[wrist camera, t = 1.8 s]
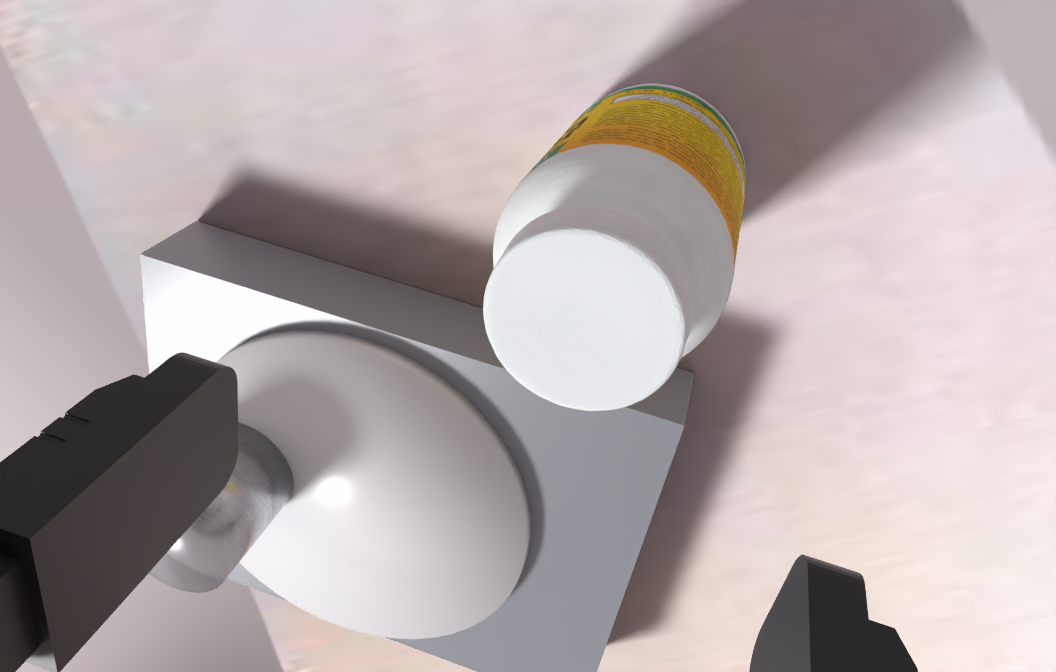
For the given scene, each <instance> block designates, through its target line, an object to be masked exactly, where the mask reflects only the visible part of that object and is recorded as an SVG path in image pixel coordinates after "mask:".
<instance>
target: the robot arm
mask: <svg viewBox="0 0 1056 672" xmlns="http://www.w3.org/2000/svg"><path fill="white" fill-rule="evenodd" d="M237 457H238V382H237V375H236V372H235V370H234V369H233V368H231V367H228V366H225V365H222V364H219V363H216V362H213V361H210V360H207V359H204V358H201V357H198V356H194V355H191V354H188V353H185V352H180V353H176V354H174V355H173V356H171V357H170V358H169V359H167V360H166V361H165V362H164V363H162V364H161V365H160V366H159V367H157V368H156V369H155V370H154V371H152V372H151V373H150V374H149V375H148V376H146V377H145V378H143V377H140V376H137V375H131V376H129V377H127V378H124V379H121V380H119V381H117V382H114V383H111V384H109V385H106V386H104V387H101V388H99V389H96V390H94V391H93V392H92V393H90V394H89V395H88V396H87V397H85V398H84V399H83V400H81V401H80V402H79V403H77V404H76V405H75V406H73V407H72V408H71V409H69V410H68V411H67V412H66V414H65V416H64V418H61V417H59V418H58V419H57V420H55V421H54V422H53V423H51V424H50V425H49V426H48V427H46V428H45V429H43V430H42V431H41V434H40V436H39V437H36V436H34V437H33V438H32V439H30V440H29V441H28V442H26V443H25V444H24V445H22V446H21V447H20V448H18V449H17V450H16V451H15V452H13V453H12V454H11V455H9V456H8V457H7V458H6V459H4V460H3V461H2V462H0V672H15V671H16V670H17V669H18V668H19V667H20V666H21V665H22V664H23V663H24V662H25V661H26V662H28V663H31V664H33V665H36V666H39V667H41V668H44V669H46V670H49V671H51V672H60V671H61V670H62V669H63V668H64V667H65V665H66V664H67V663H68V662H69V661H70V660H71V659H72V657H74V655H75V654H76V653H77V652H78V651H79V650H80V649H81V648H82V647H83V645H84V644H85V643H86V642H87V641H88V640H89V639H90V638H91V637H92V635H93V634H94V633H95V632H96V631H97V630H98V629H99V628H100V627H101V625H102V624H103V623H104V622H105V621H106V620H107V619H108V618H109V616H110V615H111V614H112V613H113V612H114V611H115V610H116V609H117V608H118V606H119V605H120V604H121V603H122V602H123V601H124V600H125V599H126V598H127V596H128V595H129V594H130V593H131V592H132V591H133V590H134V589H135V588H136V586H137V585H138V584H139V583H140V582H141V581H142V580H143V579H144V578H145V576H146V575H147V574H148V573H149V572H150V571H151V570H152V569H153V567H154V566H155V565H156V564H157V563H158V562H159V561H160V560H161V559H162V557H163V556H164V555H165V554H166V553H167V552H168V551H169V550H170V549H171V547H172V546H173V545H174V544H175V543H176V542H177V541H178V540H179V538H180V537H181V536H182V535H183V534H184V533H185V532H186V531H187V530H188V528H189V527H190V526H191V525H192V524H193V523H194V522H195V521H196V520H197V518H198V517H199V516H200V515H201V514H202V513H203V512H204V511H205V510H206V508H207V507H208V506H209V505H210V504H211V503H212V502H213V501H214V499H215V498H216V497H217V496H218V495H219V494H220V493H221V491H222V490H223V489H224V487H225V486H226V484H227V483H228V481H229V479H230V477H231V475H232V473H233V470H234V468H235V465H236V461H237ZM749 672H918V670H917V667H916V665H915V664H914V662H913V660H912V658H911V656H910V655H909V653H908V651H907V649H906V648H905V646H904V644H903V642H902V640H901V639H900V637H899V635H898V633H897V632H896V630H895V628H892V627H889V626H886V625H883V624H880V623H877V622H874V621H871V620H869V618H868V609H867V600H866V590H865V583H864V579H863V576H862V575H861V574H860V573H858V572H855V571H852V570H849V569H846V568H842V567H839V566H836V565H833V564H830V563H827V562H824V561H821V560H818V559H815V558H812V557H809V556H805V555H801V556H799V557H798V558H797V560H796V561H795V563H794V565H793V566H792V568H791V570H790V572H789V574H788V576H787V578H786V580H785V582H784V584H783V586H782V588H781V590H780V592H779V594H778V596H777V598H776V600H775V602H774V604H773V606H772V608H771V610H770V612H769V613H768V615H767V617H766V619H765V621H764V623H763V625H762V627H761V629H760V632H759V634H758V637H757V640H756V643H755V647H754V650H753V654H752V659H751V664H750V671H749Z"/></svg>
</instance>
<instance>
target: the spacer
mask: <svg viewBox="0 0 1056 672" xmlns="http://www.w3.org/2000/svg"><path fill="white" fill-rule="evenodd" d="M293 487H294V481H293V475H292V471H291V468H290V466H289V464H288V462H287V460H286V458H285V457H284V455H283V454H282V452H281V451H280V450H279V449H278V447H277V446H276V445H275V444H274V443H273V442H272V441H271V440H270V439H268V438H267V437H266V436H265V435H263V434H262V433H260V432H259V431H257V430H255V429H254V428H252V427H250V426H247V425H245V424H242V423H239V422H238V457H237V461H236V465H235V468H234V470H233V473H232V475H231V477H230V479H229V481H228V483H227V484H226V486H225V487H224V489H223V490H222V491H221V493H220V494H219V495H218V496H217V497H216V498H215V499H214V501H213V502H212V503H211V504H210V505H209V506H208V507H207V508H206V510H205V511H204V512H203V513H202V514H201V515H200V516H199V517H198V518H197V520H196V521H195V522H194V523H193V524H192V525H191V526H190V527H189V528H188V530H187V531H186V532H185V533H184V534H183V535H182V536H181V537H180V538H179V540H178V541H177V542H176V543H175V544H174V545H173V546H172V547H171V549H170V550H169V551H168V552H167V553H166V554H165V555H164V556H163V557H162V559H161V560H160V561H159V562H158V563H157V564H156V565H155V566H154V567H153V569H152V570H151V571H150V572H149V573H148V574H150V575H151V576H153V577H154V578H156V579H157V580H159V581H161V582H163V583H165V584H167V585H169V586H171V587H173V588H176V589H180V590H183V591H187V592H197V593H200V592H208V591H211V590H214V589H215V588H217V587H219V586H220V585H221V584H222V583H223V582H224V580H225V579H226V578H227V577H228V575H229V574H230V573H231V572H232V570H233V569H234V568H235V567H236V566H237V564H238V563H239V562H240V561H241V559H242V558H243V557H244V556H245V554H246V553H247V552H248V551H249V549H250V548H251V547H252V546H253V544H254V543H255V542H256V541H257V539H258V538H259V537H260V536H261V534H262V533H263V532H264V531H265V529H266V528H267V527H268V526H269V524H270V523H271V522H272V521H273V519H274V518H275V517H276V516H277V514H278V513H279V512H280V511H281V509H282V508H283V507H284V506H285V504H286V503H287V502H288V501H289V499H290V497H291V495H292V492H293Z"/></svg>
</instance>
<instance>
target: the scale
mask: <svg viewBox="0 0 1056 672" xmlns="http://www.w3.org/2000/svg"><path fill="white" fill-rule="evenodd" d="M140 262H141V274H142V286H143V299H144V311H145V323H146V336H147V348H148V361H149V373H151V372H152V371H154V370H155V369H156V368H157V367H159V366H160V365H161V364H162V363H164V362H165V361H166V360H167V359H169V358H170V357H171V356H173V355H174V354H176V353H180V352H185V353H188V354H191V355H194V356H198V357H201V358H204V359H207V360H210V361H213V362H216V363H219V364H222V365H225V366H228V367H231V368H233V369H234V370H235V372H236V375H237V382H238V422H239V423H242V424H245V425H247V426H250V427H252V428H254V429H255V430H257V431H259V432H260V433H262V434H263V435H265V436H266V437H267V438H268V439H270V440H271V441H272V442H273V443H274V444H275V445H276V446H277V447H278V449H279V450H280V451H281V452H282V454H283V455H284V457H285V458H286V460H287V462H288V464H289V466H290V468H291V471H292V475H293V481H294V487H293V492H292V495H291V497H290V499H289V501H288V502H287V503H286V504H285V506H284V507H283V508H282V509H281V511H280V512H279V513H278V514H277V516H276V517H275V518H274V519H273V521H272V522H271V523H270V524H269V526H268V527H267V528H266V529H265V531H264V532H263V533H262V534H261V536H260V537H259V538H258V539H257V541H256V542H255V543H254V544H253V546H252V547H251V548H250V549H249V551H248V552H247V553H246V554H245V556H244V557H243V558H242V559H241V561H240V562H239V563H238V564H237V566H236V567H235V568H234V569H233V570H232V572H231V573H230V574H229V575H228V577H227V579H230V580H232V581H235V582H238V583H240V584H243V585H246V586H249V587H251V588H254V589H257V590H259V591H262V592H265V593H267V594H270V595H273V596H275V597H278V598H281V599H284V600H286V601H289V602H291V603H292V604H294V605H295V606H297V607H299V608H301V609H303V610H305V611H307V612H309V613H310V614H312V615H314V616H316V617H319V618H321V619H323V620H326V621H328V622H331V623H333V624H335V625H338V626H341V627H344V628H347V629H350V630H354V631H357V632H361V633H366V634H370V635H374V636H380V637H386V638H389V639H391V640H394V641H397V642H399V643H402V644H405V645H407V646H410V647H413V648H415V649H418V650H421V651H424V652H426V653H429V654H432V655H434V656H437V657H440V658H442V659H445V660H448V661H450V662H453V663H456V664H459V665H461V666H464V667H467V668H469V669H472V670H475V671H477V672H597V670H598V667H599V664H600V661H601V658H602V656H603V653H604V650H605V647H606V645H607V642H608V639H609V636H610V633H611V631H612V628H613V625H614V622H615V619H616V617H617V614H618V611H619V608H620V605H621V603H622V600H623V597H624V594H625V591H626V589H627V586H628V583H629V580H630V577H631V575H632V572H633V569H634V566H635V563H636V561H637V558H638V555H639V552H640V549H641V547H642V544H643V541H644V538H645V536H646V533H647V530H648V527H649V524H650V522H651V519H652V516H653V513H654V510H655V508H656V505H657V502H658V499H659V496H660V494H661V491H662V488H663V485H664V482H665V480H666V477H667V474H668V471H669V468H670V466H671V463H672V460H673V457H674V454H675V452H676V449H677V446H678V443H679V441H680V438H681V435H682V432H683V429H684V427H685V422H686V417H687V412H688V407H689V402H690V397H691V392H692V387H693V382H694V377H695V373H694V372H690V371H687V370H684V369H681V368H677V367H676V369H675V370H674V372H673V373H672V375H671V376H670V377H669V378H668V380H667V381H666V382H665V383H664V384H663V385H662V386H661V387H660V388H659V389H657V390H656V391H655V392H654V393H652V394H651V395H650V396H648V397H646V398H645V399H643V400H641V401H639V402H636V403H634V404H632V405H629V406H627V407H623V408H619V409H614V410H604V411H584V410H578V409H572V408H568V407H564V406H560V405H558V404H555V403H553V402H550V401H548V400H546V399H544V398H542V397H540V396H538V395H536V394H535V393H533V392H532V391H530V390H528V389H527V388H526V387H524V386H523V385H522V384H520V383H519V382H518V381H517V380H516V379H515V378H514V377H513V376H512V375H511V374H510V373H509V372H508V371H507V370H506V369H505V367H504V366H503V365H502V363H501V362H500V361H499V359H498V358H497V356H496V354H495V352H494V350H493V347H492V345H491V343H490V341H489V338H488V335H487V333H486V328H485V323H484V316H483V308H481V307H477V306H474V305H471V304H467V303H464V302H461V301H458V300H454V299H451V298H448V297H444V296H441V295H438V294H435V293H431V292H428V291H425V290H421V289H418V288H415V287H412V286H408V285H405V284H402V283H399V282H395V281H392V280H389V279H385V278H382V277H379V276H376V275H372V274H369V273H366V272H362V271H359V270H356V269H353V268H349V267H346V266H343V265H339V264H336V263H333V262H330V261H326V260H323V259H320V258H316V257H313V256H310V255H307V254H303V253H300V252H297V251H294V250H290V249H287V248H284V247H280V246H277V245H274V244H271V243H267V242H264V241H261V240H257V239H254V238H251V237H248V236H244V235H241V234H238V233H234V232H231V231H228V230H225V229H221V228H218V227H215V226H212V225H208V224H205V223H202V222H198V221H196V222H194V223H192V224H191V225H189V226H187V227H185V228H184V229H182V230H180V231H179V232H177V233H175V234H174V235H172V236H170V237H168V238H167V239H165V240H163V241H162V242H160V243H158V244H157V245H155V246H153V247H151V248H150V249H148V250H146V251H145V252H143V253H141V254H140Z"/></svg>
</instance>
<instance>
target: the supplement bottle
mask: <svg viewBox="0 0 1056 672" xmlns="http://www.w3.org/2000/svg"><path fill="white" fill-rule="evenodd" d="M745 194H746V165H745V160H744V155H743V152H742V149H741V146H740V144H739V141H738V139H737V137H736V135H735V133H734V131H733V130H732V128H731V126H730V125H729V123H728V122H727V120H726V119H725V118H724V117H723V115H722V114H721V113H720V112H719V111H718V110H717V109H716V108H715V107H714V106H712V105H711V104H710V103H709V102H707V101H706V100H704V99H703V98H701V97H700V96H698V95H696V94H694V93H692V92H690V91H688V90H685V89H683V88H679V87H676V86H671V85H667V84H659V83H648V84H640V85H634V86H630V87H626V88H623V89H620V90H618V91H615V92H613V93H611V94H609V95H607V96H605V97H603V98H602V99H600V100H598V101H597V102H595V103H594V104H593V105H591V106H590V107H589V108H588V109H587V110H586V111H585V112H584V113H583V114H582V115H580V117H579V118H578V119H577V120H576V121H575V122H574V123H573V124H572V125H571V127H570V128H569V129H568V130H567V131H566V132H565V133H564V135H563V136H562V137H561V138H560V139H559V140H558V141H557V142H556V143H555V144H554V146H553V147H552V148H551V149H550V150H549V151H548V152H547V153H546V155H545V156H544V157H543V158H542V159H541V160H540V161H539V162H538V163H537V164H536V165H535V166H534V168H533V169H532V170H531V171H530V172H529V173H528V174H527V175H526V176H525V178H524V179H523V180H522V181H521V182H520V183H519V185H518V186H517V187H516V189H515V190H514V192H513V193H512V195H511V196H510V197H509V199H508V201H507V203H506V205H505V207H504V209H503V211H502V213H501V215H500V218H499V221H498V224H497V228H496V233H495V237H494V244H493V266H494V269H493V271H492V273H491V275H490V278H489V280H488V283H487V286H486V290H485V294H484V303H483V316H484V323H485V328H486V333H487V335H488V338H489V341H490V343H491V345H492V347H493V350H494V352H495V354H496V356H497V358H498V359H499V361H500V362H501V363H502V365H503V366H504V367H505V369H506V370H507V371H508V372H509V373H510V374H511V375H512V376H513V377H514V378H515V379H516V380H517V381H518V382H519V383H520V384H522V385H523V386H524V387H526V388H527V389H528V390H530V391H532V392H533V393H535V394H536V395H538V396H540V397H542V398H544V399H546V400H548V401H550V402H553V403H555V404H558V405H560V406H564V407H568V408H572V409H578V410H584V411H604V410H614V409H619V408H623V407H627V406H629V405H632V404H634V403H636V402H639V401H641V400H643V399H645V398H646V397H648V396H650V395H651V394H652V393H654V392H655V391H656V390H657V389H659V388H660V387H661V386H662V385H663V384H664V383H665V382H666V381H667V380H668V378H669V377H670V376H671V375H672V373H673V372H674V370H675V369H676V367H677V365H678V363H679V361H680V359H681V358H682V357H684V356H685V355H686V354H688V353H689V352H690V351H692V350H693V349H694V348H695V347H696V346H698V345H699V344H700V343H701V342H702V341H703V340H704V339H705V338H706V336H707V335H708V334H709V333H710V332H711V330H712V329H713V328H714V326H715V325H716V323H717V321H718V320H719V318H720V316H721V314H722V312H723V310H724V308H725V306H726V303H727V300H728V297H729V294H730V290H731V285H732V280H733V275H734V267H735V259H736V252H737V245H738V238H739V232H740V226H741V220H742V212H743V207H744V200H745Z"/></svg>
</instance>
